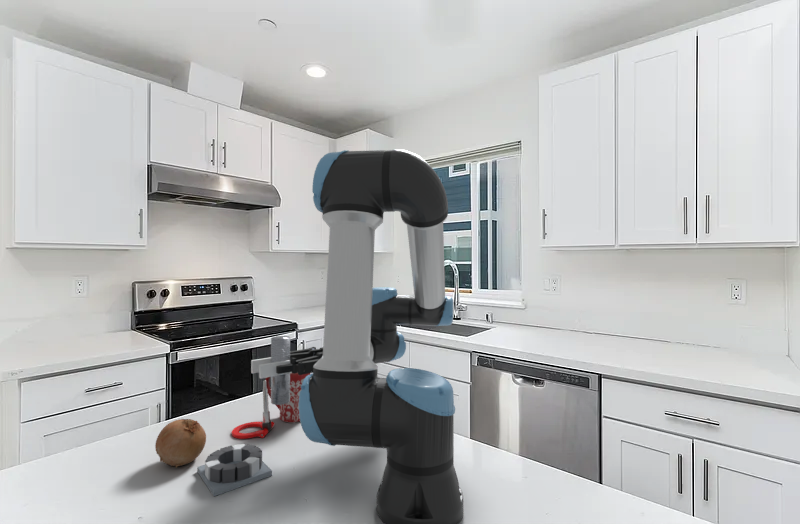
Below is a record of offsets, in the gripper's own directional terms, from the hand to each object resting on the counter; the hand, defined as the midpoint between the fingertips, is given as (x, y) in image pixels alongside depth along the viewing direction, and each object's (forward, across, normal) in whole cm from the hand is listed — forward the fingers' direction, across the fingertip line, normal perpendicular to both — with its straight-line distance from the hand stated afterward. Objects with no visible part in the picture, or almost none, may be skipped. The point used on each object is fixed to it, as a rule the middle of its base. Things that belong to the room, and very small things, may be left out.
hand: (255, 369), depth 86 cm
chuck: (+5, -1, -20) cm, 21 cm away
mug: (-16, +19, -20) cm, 32 cm away
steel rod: (-5, 0, -8) cm, 10 cm away
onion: (+12, +10, -20) cm, 26 cm away
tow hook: (-5, +16, -20) cm, 26 cm away
